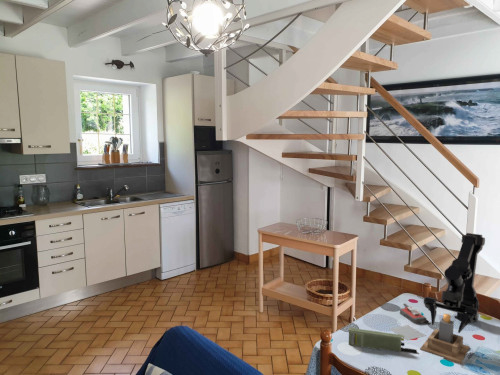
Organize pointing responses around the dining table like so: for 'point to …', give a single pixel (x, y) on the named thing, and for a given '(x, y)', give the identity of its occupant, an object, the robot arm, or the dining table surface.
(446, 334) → the connector plug
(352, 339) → the handheld radio
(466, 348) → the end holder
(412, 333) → the mat
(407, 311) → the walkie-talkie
